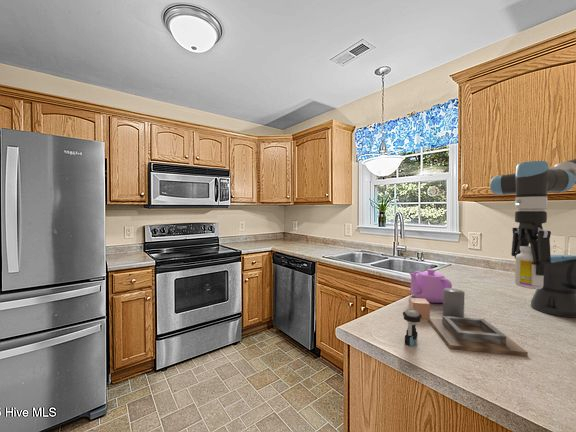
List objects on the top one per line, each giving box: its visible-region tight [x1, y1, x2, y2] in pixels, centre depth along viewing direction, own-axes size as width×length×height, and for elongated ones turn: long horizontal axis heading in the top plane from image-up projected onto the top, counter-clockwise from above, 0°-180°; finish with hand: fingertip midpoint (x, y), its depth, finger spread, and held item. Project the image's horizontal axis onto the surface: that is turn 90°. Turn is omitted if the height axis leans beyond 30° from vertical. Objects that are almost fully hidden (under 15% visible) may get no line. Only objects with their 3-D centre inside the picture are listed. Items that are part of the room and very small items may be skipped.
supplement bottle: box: [514, 245, 543, 290], centre depth 85 cm, size 7×7×13 cm
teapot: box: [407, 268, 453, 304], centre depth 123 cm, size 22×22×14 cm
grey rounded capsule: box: [442, 288, 465, 317], centre depth 103 cm, size 7×7×10 cm
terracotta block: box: [408, 297, 431, 320], centre depth 104 cm, size 6×6×6 cm
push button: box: [402, 308, 422, 347], centre depth 83 cm, size 7×5×10 cm
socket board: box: [428, 315, 529, 357], centre depth 87 cm, size 20×20×4 cm
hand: (528, 281), depth 85 cm, fingers closed on supplement bottle, 7 cm apart
